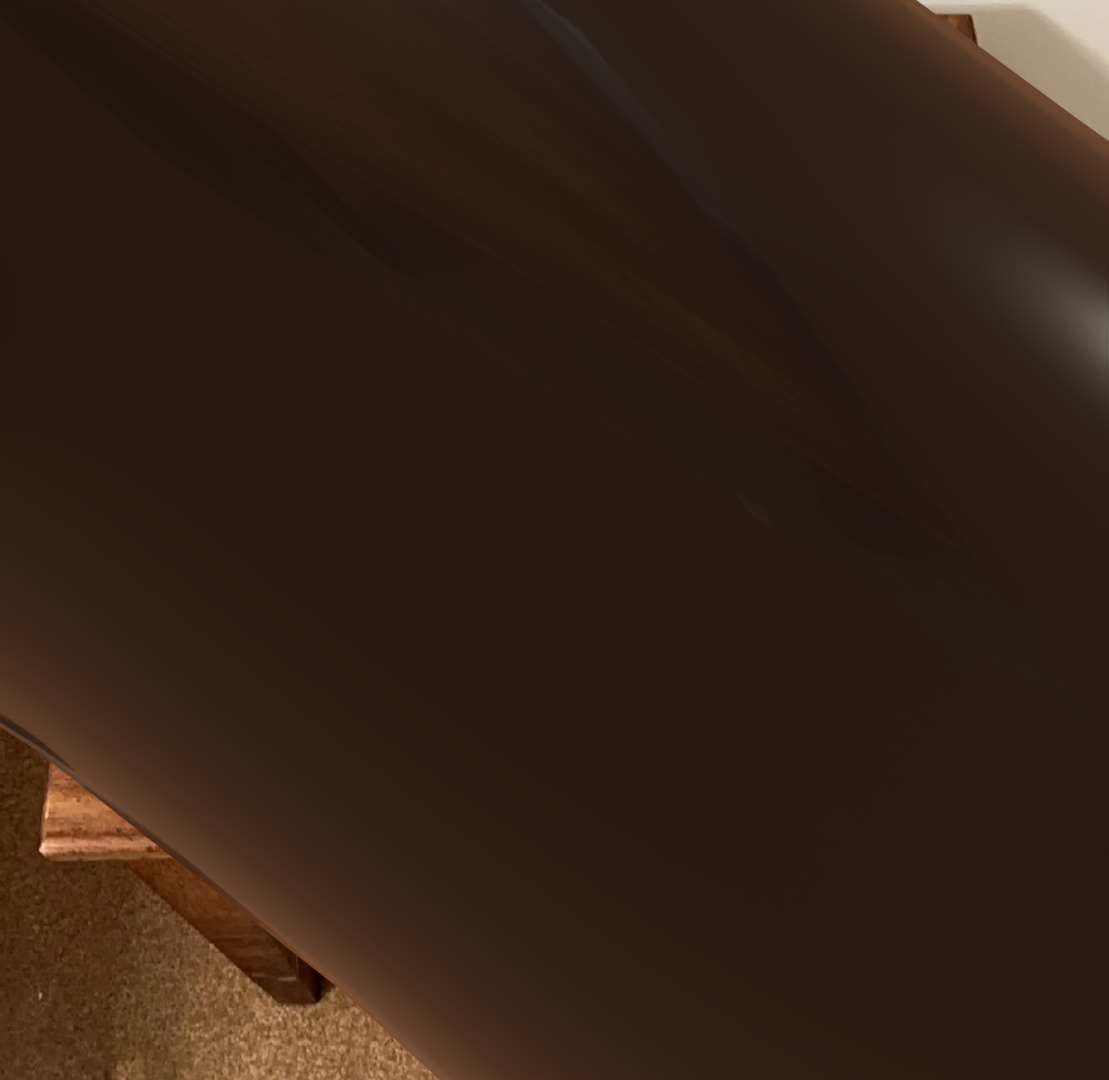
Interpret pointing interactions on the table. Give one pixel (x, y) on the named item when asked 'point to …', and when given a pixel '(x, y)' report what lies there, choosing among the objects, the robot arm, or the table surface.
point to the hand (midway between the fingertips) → (626, 566)
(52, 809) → the table surface
